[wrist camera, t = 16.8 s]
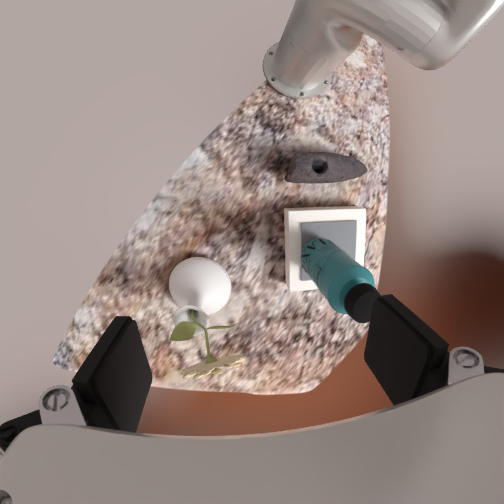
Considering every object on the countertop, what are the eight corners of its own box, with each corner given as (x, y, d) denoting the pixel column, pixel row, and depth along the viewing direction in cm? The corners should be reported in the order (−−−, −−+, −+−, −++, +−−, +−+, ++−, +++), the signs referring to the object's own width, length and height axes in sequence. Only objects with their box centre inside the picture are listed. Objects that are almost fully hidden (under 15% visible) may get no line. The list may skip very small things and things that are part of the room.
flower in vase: (171, 308, 51) (135, 399, 27) (170, 251, 48) (120, 321, 24) (237, 313, 52) (243, 411, 28) (242, 257, 49) (252, 334, 25)
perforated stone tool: (358, 156, 45) (376, 154, 39) (358, 184, 47) (376, 186, 40) (279, 152, 44) (287, 149, 38) (280, 182, 46) (288, 183, 39)
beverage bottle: (327, 229, 44) (391, 268, 25) (337, 264, 46) (396, 319, 27) (291, 242, 44) (334, 292, 25) (302, 277, 46) (346, 343, 27)
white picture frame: (283, 208, 47) (288, 211, 43) (356, 206, 48) (367, 209, 43) (285, 283, 51) (290, 292, 47) (353, 276, 52) (362, 284, 47)
